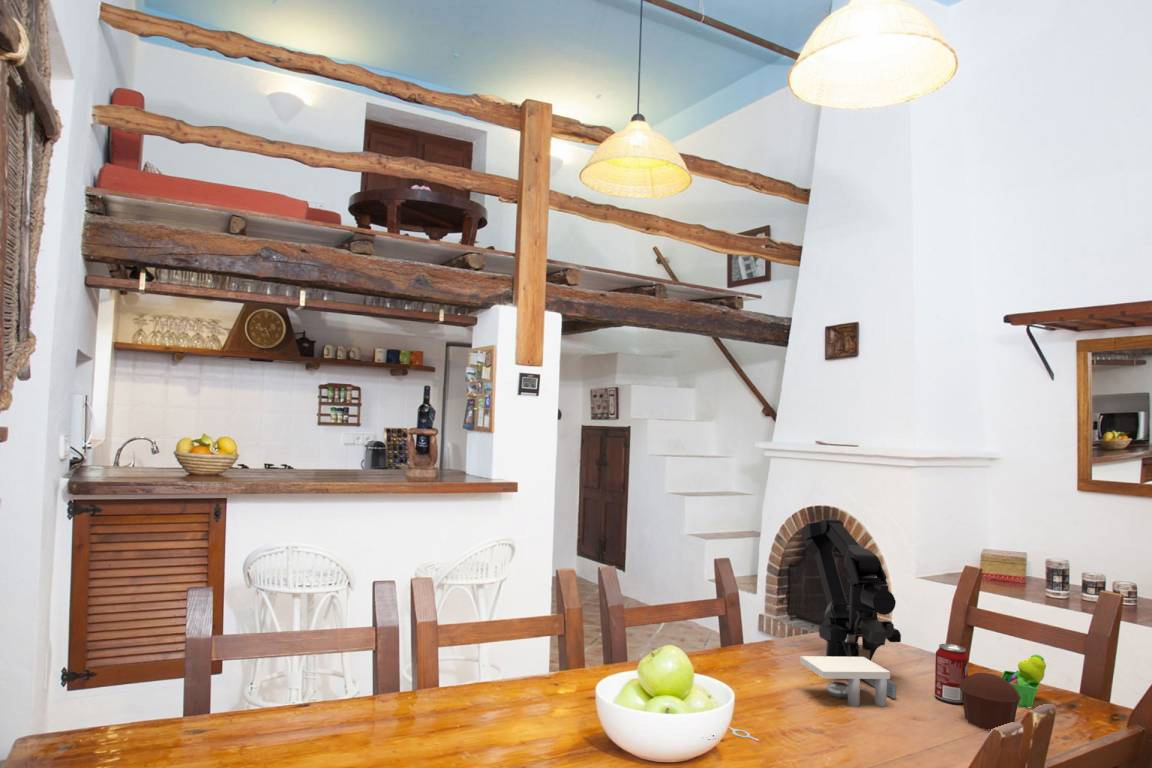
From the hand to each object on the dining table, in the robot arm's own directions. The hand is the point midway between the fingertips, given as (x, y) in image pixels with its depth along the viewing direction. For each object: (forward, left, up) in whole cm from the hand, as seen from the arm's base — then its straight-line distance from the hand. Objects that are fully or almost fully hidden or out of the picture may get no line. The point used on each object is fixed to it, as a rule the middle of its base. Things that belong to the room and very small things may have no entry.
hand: (859, 668), depth 189 cm
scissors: (+27, -48, -3) cm, 55 cm away
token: (+12, -12, -2) cm, 17 cm away
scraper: (+6, 0, -2) cm, 7 cm away
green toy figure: (+16, +32, -3) cm, 36 cm away
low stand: (+14, -12, -2) cm, 18 cm away
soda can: (+15, +14, -2) cm, 21 cm away
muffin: (+29, +13, -2) cm, 32 cm away
